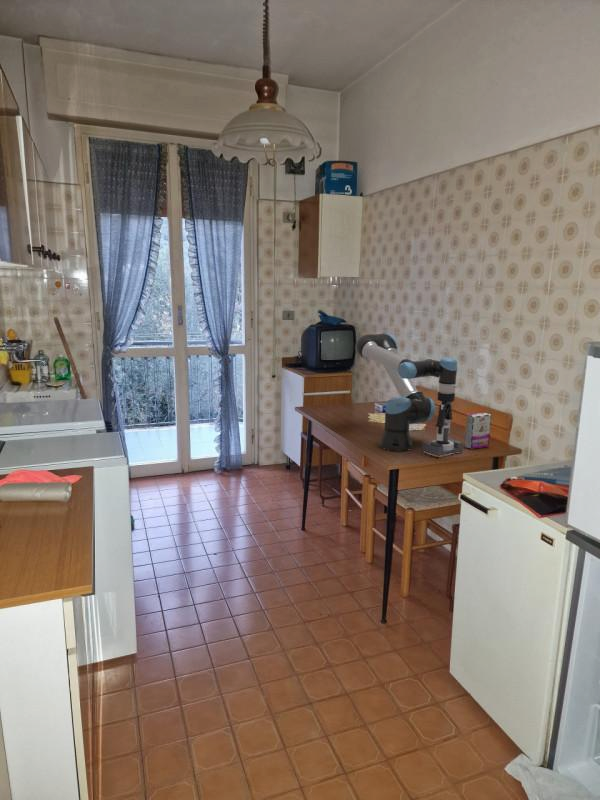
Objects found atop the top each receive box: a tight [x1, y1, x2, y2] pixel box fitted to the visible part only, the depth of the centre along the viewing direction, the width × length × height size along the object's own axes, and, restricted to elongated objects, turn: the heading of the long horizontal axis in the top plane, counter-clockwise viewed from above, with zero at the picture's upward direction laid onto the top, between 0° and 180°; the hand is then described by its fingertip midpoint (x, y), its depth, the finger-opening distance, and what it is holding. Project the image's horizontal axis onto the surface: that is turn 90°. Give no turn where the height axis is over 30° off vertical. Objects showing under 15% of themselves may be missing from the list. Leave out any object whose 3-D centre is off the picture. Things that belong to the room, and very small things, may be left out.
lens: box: [438, 422, 449, 444], centre depth 251 cm, size 5×5×12 cm
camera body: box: [421, 436, 464, 456], centre depth 252 cm, size 16×10×6 cm, turn 122°
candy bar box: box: [464, 412, 492, 450], centre depth 260 cm, size 11×5×16 cm, turn 114°
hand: (443, 436), depth 251 cm, fingers open, 13 cm apart
